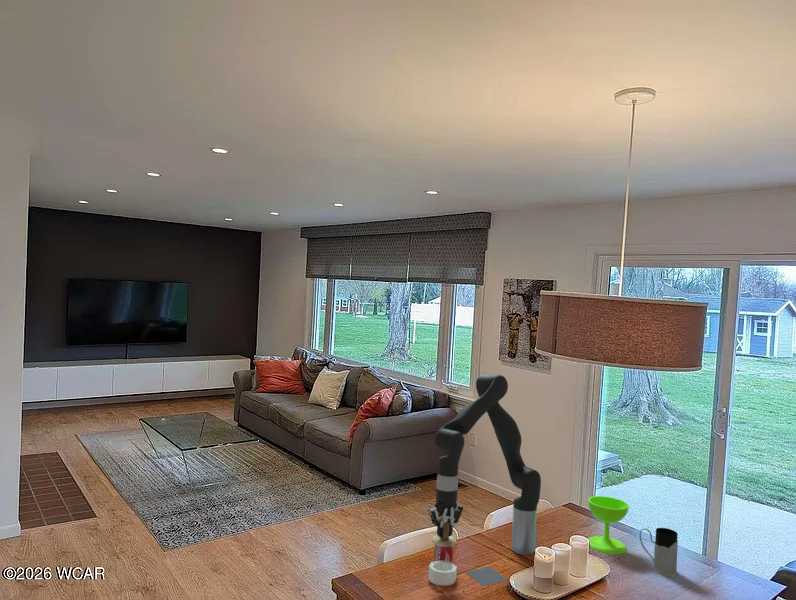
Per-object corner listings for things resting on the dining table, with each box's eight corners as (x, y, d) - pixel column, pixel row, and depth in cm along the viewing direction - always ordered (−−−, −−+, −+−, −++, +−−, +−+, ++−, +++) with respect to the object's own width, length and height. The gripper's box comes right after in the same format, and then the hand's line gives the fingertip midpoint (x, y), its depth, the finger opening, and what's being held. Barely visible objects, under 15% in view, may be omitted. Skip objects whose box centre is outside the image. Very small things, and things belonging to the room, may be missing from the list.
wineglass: (634, 549, 235) (636, 505, 235) (611, 557, 226) (613, 511, 226) (601, 535, 248) (603, 494, 248) (578, 542, 239) (580, 499, 239)
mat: (489, 568, 210) (489, 566, 210) (508, 581, 201) (508, 580, 201) (464, 573, 205) (464, 571, 205) (482, 587, 196) (482, 585, 196)
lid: (447, 535, 205) (448, 516, 205) (461, 544, 197) (462, 524, 198) (427, 539, 201) (429, 519, 201) (440, 548, 194) (441, 528, 194)
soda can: (451, 572, 205) (453, 539, 206) (432, 569, 207) (434, 536, 207) (453, 563, 212) (455, 531, 213) (435, 561, 214) (436, 529, 214)
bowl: (446, 572, 205) (446, 558, 205) (460, 583, 197) (461, 570, 197) (424, 576, 201) (424, 563, 201) (438, 588, 193) (438, 574, 193)
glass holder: (673, 578, 209) (675, 538, 210) (634, 565, 219) (636, 526, 219) (680, 571, 216) (682, 532, 216) (642, 559, 225) (644, 521, 226)
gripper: (457, 481, 206) (455, 529, 206) (424, 485, 200) (421, 534, 199) (469, 488, 199) (467, 537, 199) (435, 492, 193) (433, 543, 193)
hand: (444, 535), depth 199 cm, fingers closed on lid, 3 cm apart
